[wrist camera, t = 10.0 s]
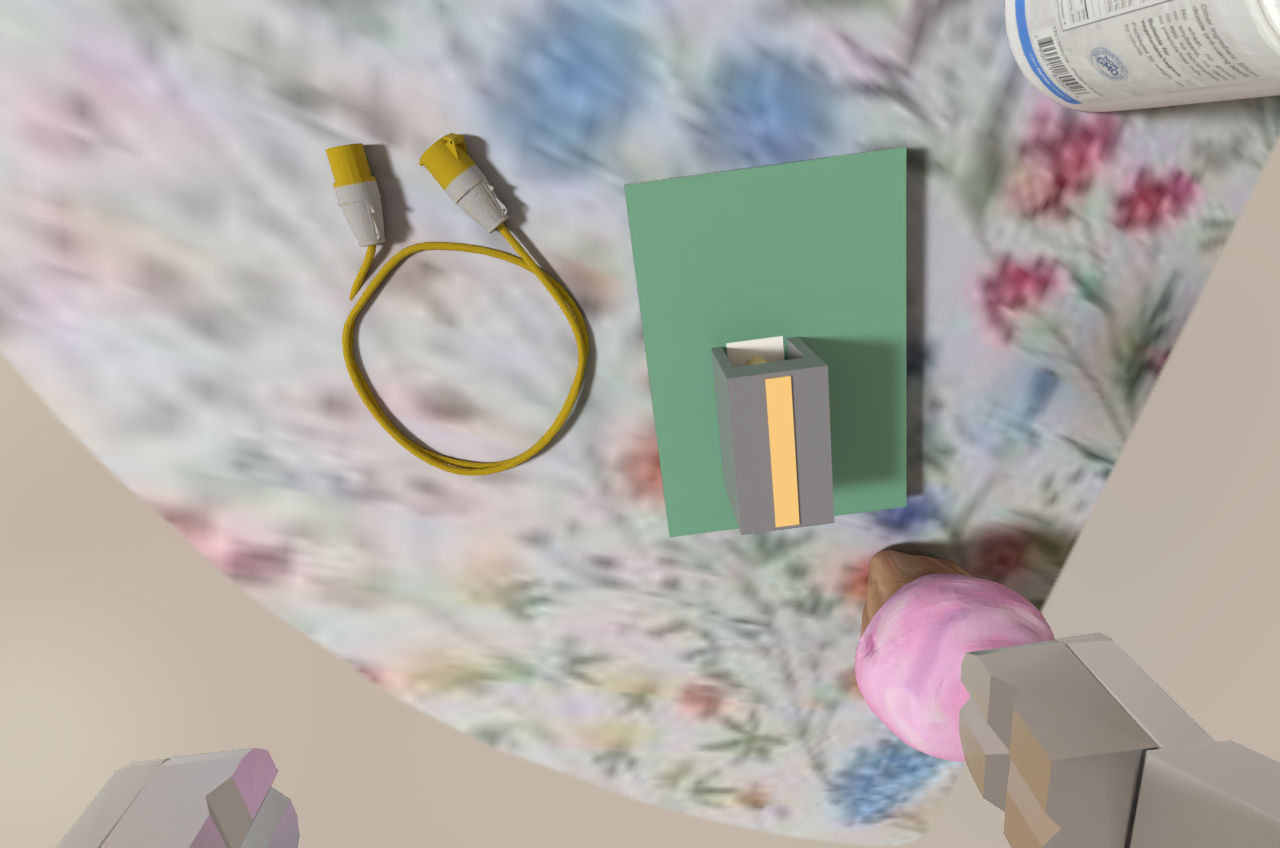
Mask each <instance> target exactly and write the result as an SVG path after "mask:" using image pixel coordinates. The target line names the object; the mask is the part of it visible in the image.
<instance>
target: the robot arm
mask: <svg viewBox="0 0 1280 848" xmlns="http://www.w3.org/2000/svg"><path fill="white" fill-rule="evenodd" d="M960 680H961V682H962V684H963V685H964V687H965V688H966V690H967V691H968V693H969V695H970V696H971V697H970V698H969V699H968V700H967V702H966V703H965V704H964V705H963V707H962V708H961V709H960V710H959V735H960V739H961V744H962V748H963V753H964V758H965V760H966V763H967V765H968V768H969V770H970V773H971V775H972V778H973V780H974V781H975V783H976V785H977V787H978V789H979V791H980V793H981V794H982V796H983V798H985V799H986V800H988V801H989V802H991V803H992V804H994V805H995V806H997V807H998V808H1000V809H1001V810H1003V811H1004V812H1005V823H1004V835H1005V837H1006V839H1007V840H1008V842H1009V844H1010V846H1011V847H1012V848H1280V763H1279V762H1277V761H1275V760H1273V759H1271V758H1269V757H1266V756H1264V755H1262V754H1260V753H1258V752H1256V751H1253V750H1251V749H1249V748H1247V747H1245V746H1242V745H1240V744H1238V743H1236V742H1234V741H1231V740H1229V741H1221V742H1215V741H1214V740H1213V739H1212V738H1211V737H1210V736H1209V735H1208V734H1207V733H1206V732H1205V731H1204V730H1203V729H1202V728H1201V727H1200V726H1199V725H1198V724H1197V723H1196V722H1195V721H1194V720H1193V719H1192V718H1191V717H1190V716H1189V715H1188V714H1187V713H1186V712H1185V711H1184V710H1183V709H1182V708H1181V707H1180V706H1179V705H1178V704H1177V703H1176V702H1175V701H1174V700H1173V699H1172V698H1171V697H1170V696H1169V695H1168V694H1167V693H1166V692H1165V691H1164V690H1163V689H1162V688H1161V687H1160V686H1159V685H1158V684H1157V683H1156V682H1155V681H1154V680H1153V679H1152V678H1151V677H1150V676H1149V675H1148V674H1147V673H1146V672H1145V671H1144V670H1143V669H1142V668H1141V667H1139V665H1138V664H1137V663H1136V662H1135V661H1134V660H1133V659H1131V657H1130V656H1129V655H1128V654H1127V653H1126V652H1125V651H1124V650H1122V649H1121V648H1120V647H1119V646H1118V645H1117V644H1116V643H1115V642H1114V641H1113V640H1112V639H1111V638H1110V637H1107V636H1105V635H1103V634H1101V633H1094V634H1088V635H1081V636H1074V637H1068V638H1060V639H1055V640H1053V641H1044V642H1037V643H1030V644H1023V645H1016V646H1009V647H1001V648H994V649H987V650H980V651H973V652H966V654H965V656H964V658H963V660H962V663H961V679H960ZM277 773H278V770H277V768H276V766H275V764H274V762H273V760H272V758H271V756H270V754H269V752H268V751H267V750H264V749H258V748H250V749H241V750H232V751H222V752H213V753H204V754H194V755H185V756H177V757H173V758H169V759H159V760H149V761H138V762H131V763H130V764H128V765H126V766H124V767H123V768H121V769H119V770H117V771H116V772H115V773H114V774H113V776H112V777H111V778H110V779H109V781H108V782H107V783H106V784H105V786H104V787H103V788H102V789H101V791H100V792H99V793H98V795H97V796H96V797H95V798H94V800H93V801H92V802H91V803H90V805H89V806H88V807H87V809H86V810H85V811H84V812H83V814H82V815H81V816H80V817H79V819H78V820H77V821H76V823H75V824H74V825H73V826H72V828H71V829H70V830H69V831H68V833H67V834H66V835H65V836H64V838H63V839H62V840H61V842H60V843H59V844H58V846H57V847H56V848H298V842H299V827H298V819H297V814H296V812H295V809H294V807H293V804H292V802H291V800H290V799H289V798H288V797H286V796H285V795H283V794H282V793H280V792H278V791H277V790H276V789H274V788H272V787H271V786H272V784H273V782H274V779H275V777H276V775H277Z"/></svg>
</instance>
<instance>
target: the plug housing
mask: <svg viewBox="0 0 1280 848" xmlns="http://www.w3.org/2000/svg"><path fill="white" fill-rule="evenodd" d="M787 352H788V360H783V361H776V362H768V363H761V364H753V365H746V366H738V367H733V365H732V363H731V362H730V360H729V358H728V357H727V355H726V353H725V352H724V350H723V348H722V347H717V348H711V354H712V364H713V375H714V385H715V395H716V406H717V416H718V426H719V437H720V447H721V457H722V468H723V478H724V486H725V489H726V492H727V495H728V498H729V501H730V504H731V507H732V510H733V513H734V516H735V519H736V522H737V525H738V527H739V530H740V533H741V535H744V534H752V533H760V532H767V531H775V530H783V529H790V528H798V527H806V526H813V525H821V524H829V523H834V507H833V482H832V457H831V432H830V406H829V381H828V365H827V364H826V363H825V362H824V361H823V360H822V359H820V358H819V357H818V356H817V355H816V354H815V353H814V352H813V351H812V350H811V349H810V348H809V347H808V346H807V345H806V344H805V343H804V342H803V341H801V340H800V339H799V338H798V337H792V338H787Z"/></svg>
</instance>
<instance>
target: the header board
mask: <svg viewBox="0 0 1280 848" xmlns="http://www.w3.org/2000/svg"><path fill="white" fill-rule="evenodd" d="M624 187H625V195H626V203H627V211H628V218H629V226H630V234H631V242H632V249H633V257H634V265H635V273H636V280H637V288H638V296H639V304H640V311H641V319H642V327H643V335H644V343H645V350H646V358H647V366H648V374H649V381H650V389H651V397H652V405H653V412H654V420H655V428H656V436H657V443H658V451H659V459H660V467H661V474H662V482H663V490H664V498H665V505H666V513H667V521H668V528H669V535H670V537H676V536H683V535H691V534H699V533H707V532H714V531H722V530H730V529H737V528H739V527H738V525H737V522H736V519H735V516H734V513H733V510H732V507H731V504H730V501H729V498H728V495H727V492H726V489H725V486H724V478H723V468H722V457H721V447H720V437H719V426H718V416H717V406H716V395H715V385H714V375H713V364H712V354H711V348H717V347H722V348H723V350H724V352H725V353H726V355H727V357H728V358H729V360H730V362H731V363H732V365H733V367H738V366H746V365H753V364H761V363H768V362H776V361H783V360H788V352H787V338H792V337H798V338H799V339H800V340H801V341H803V342H804V343H805V344H806V345H807V346H808V347H809V348H810V349H811V350H812V351H813V352H814V353H815V354H816V355H817V356H818V357H819V358H820V359H822V360H823V361H824V362H825V363H826V364H827V365H828V381H829V406H830V432H831V457H832V482H833V507H834V516H837V515H845V514H853V513H860V512H868V511H876V510H883V509H891V508H899V507H906V506H907V419H906V147H902V148H890V149H882V150H875V151H868V152H860V153H853V154H846V155H838V156H831V157H824V158H816V159H809V160H802V161H794V162H787V163H780V164H772V165H765V166H757V167H750V168H743V169H735V170H728V171H721V172H713V173H706V174H699V175H691V176H684V177H677V178H669V179H662V180H655V181H647V182H640V183H633V184H625V185H624Z"/></svg>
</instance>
